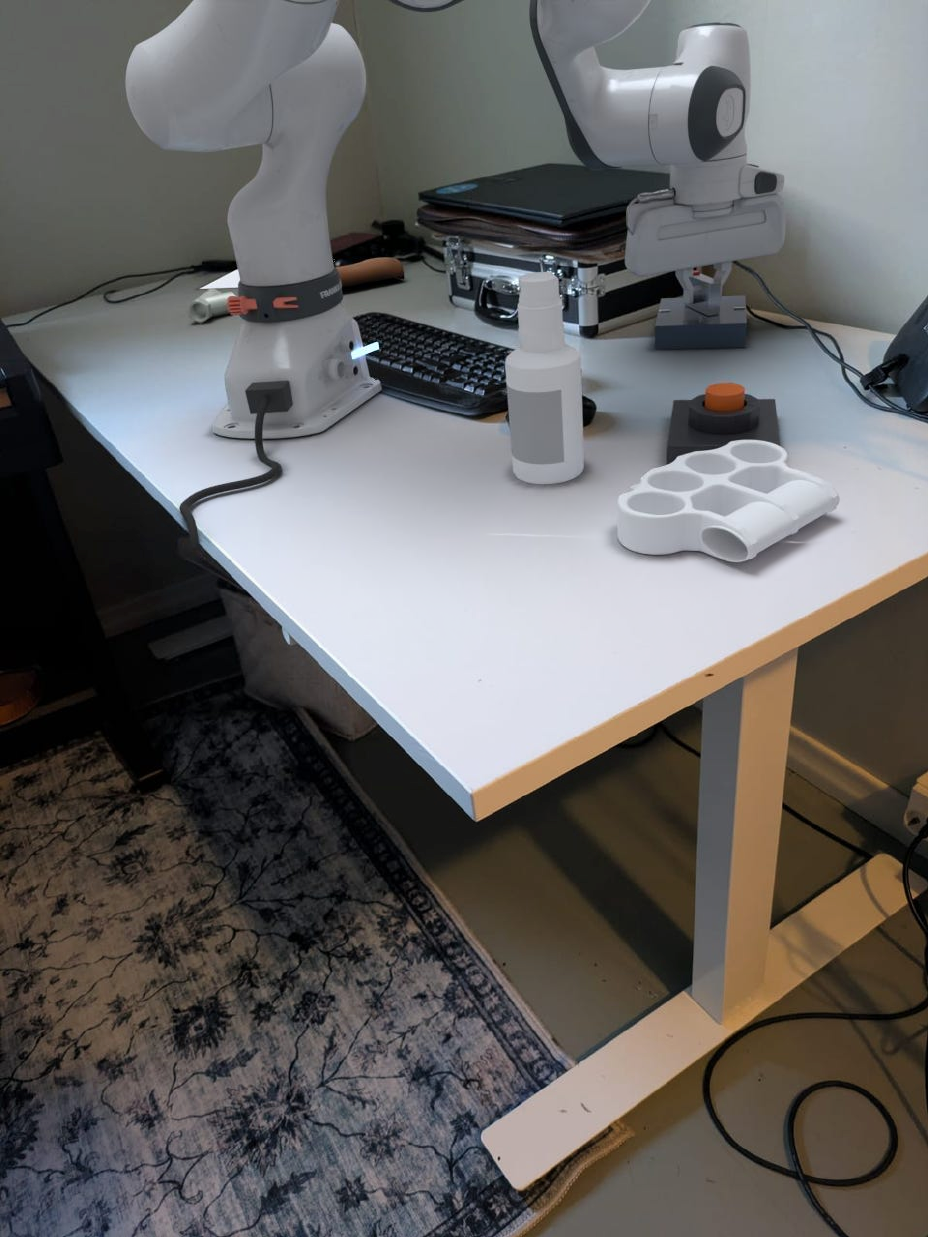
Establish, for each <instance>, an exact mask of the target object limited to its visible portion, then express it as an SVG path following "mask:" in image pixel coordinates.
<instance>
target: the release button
mask: <svg viewBox="0 0 928 1237" xmlns="http://www.w3.org/2000/svg"><path fill="white" fill-rule="evenodd" d="M704 394H705V408H706V409H708V410H713V411H734V410H739V409H742V408H743V407H744V396H745V394H746V388H745V386H743V385H741V384H739V383H734V382H718V383H713V384H710V385H708V386H707V387H706V388H705V391H704Z"/></svg>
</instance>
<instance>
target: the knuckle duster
mask: <svg viewBox="0 0 928 1237" xmlns="http://www.w3.org/2000/svg"><path fill="white" fill-rule="evenodd" d="M788 458H789V455H788V452H787V451H786V449H785V448H783V447H782V446H781V445H780V446H779V445H776V444H774V443H770V442H766V441H760V440H737V441H731V442H729V443H728V444H727V445H725V446H723V447H720V448H717V449H713V450H707V451H695V452H692V453H688V454H684V455H681V456H678V457H677V458H676V459H675V460H674V461H673V462H672V463H670V464H668V465H666V464H665V465H663V466H658V467H653V468H650V470H648V471H647V472H646V473H644V474H643V475H642V476H641V477H640V480H639V483H637V484H634V485H631V486H628V489H630V491H628V492H624V493H621V494H620V495H619V496H618V498H617V500H616V501H617V502H616V516H617V517H616V523H617V524H616V525H617V527H616V528H617V529H616V531H617V534H616V535H617V539H618V542H619V543H620V544H621V545H622V546H623V547H625V548H626V549H628V550H630V551H632V552H635V553H639V554H644V555H652V556H661V555H671V554H675V553H679V552H682V551H683V552H684V551H688V552H702V553H704V554H705V555H708V556H711V557H714V558H717V559H719V560H724V561H727V562H731V563H740V562H745V561H748V560H752V559H754V558H755V557H757V555H758V554H759V553H760V552H762V551H764V550H766V549H767V548H769V547H771V546H772V545H775V544H776V543H778V542H780V541H782V540H783V539H785V538H787V537H788V536H792V535H794V534H796V533H798V531H799V530H800V529H802V528H803V527H805V526H807V525H808V524H810V523H812V522H814V521H815V520H817V519H819V518H820V517H822V516H824V515H826V514H827V513H831V512H833V511H835V510H836V509H837V507H838V506H839V504H840V502H841V501H840V500H841V499H840V494H839V492H838V491H837V489H836V488H835V487H833V485H831V484H830V483H829V482H827V481H825V480H824V479H822V478H820V477H817V476H815V475H813V474H811V473H809V472H805V471H803V470H799V469H796V468H793V467H789V466H788V460H789V459H788Z"/></svg>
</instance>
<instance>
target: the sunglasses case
mask: <svg viewBox="0 0 928 1237" xmlns="http://www.w3.org/2000/svg"><path fill="white" fill-rule="evenodd" d="M335 267H336V266H335ZM336 268H337V269H338V272H339V277H340V279H341V283H342V288H344V287H350V286H351V287H352V286H357V285H363V284H366V283H370V282H371V283H373V282H378V281H382V280H389V279H392V278H393V279H394V278H396V279H398V280H403V281H405V278H406V277H405V276H406V275H405V270H404V266H403V264H402V262H401V261H400V260H399V259H398V258H395V257H375V258H369V259H365V260H363V261H360V262H357V263H353V264H347V265H343V266H338V267H336Z"/></svg>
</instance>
